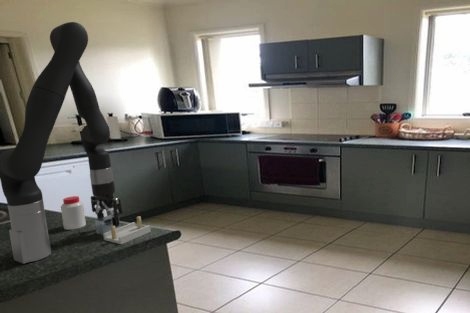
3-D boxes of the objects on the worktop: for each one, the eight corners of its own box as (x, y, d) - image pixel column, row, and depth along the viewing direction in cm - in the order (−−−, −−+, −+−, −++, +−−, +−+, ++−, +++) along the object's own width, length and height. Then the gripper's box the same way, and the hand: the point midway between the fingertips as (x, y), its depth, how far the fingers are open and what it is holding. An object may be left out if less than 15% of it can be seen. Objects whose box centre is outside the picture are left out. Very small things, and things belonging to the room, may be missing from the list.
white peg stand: (121, 244, 117) (119, 229, 116) (104, 239, 122) (102, 225, 121) (150, 231, 126) (149, 217, 126) (133, 228, 132) (132, 214, 131)
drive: (103, 235, 127) (101, 221, 126) (96, 233, 129) (94, 220, 128) (120, 229, 132) (118, 215, 132) (113, 227, 135) (111, 214, 134)
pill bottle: (89, 222, 143) (85, 195, 141) (79, 229, 135) (75, 200, 134) (71, 223, 144) (67, 195, 142) (59, 230, 136) (55, 201, 135)
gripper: (81, 182, 129) (87, 226, 132) (105, 184, 121) (112, 231, 124) (99, 177, 135) (105, 219, 138) (124, 179, 127) (130, 224, 130)
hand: (108, 225), depth 131 cm, fingers open, 8 cm apart
